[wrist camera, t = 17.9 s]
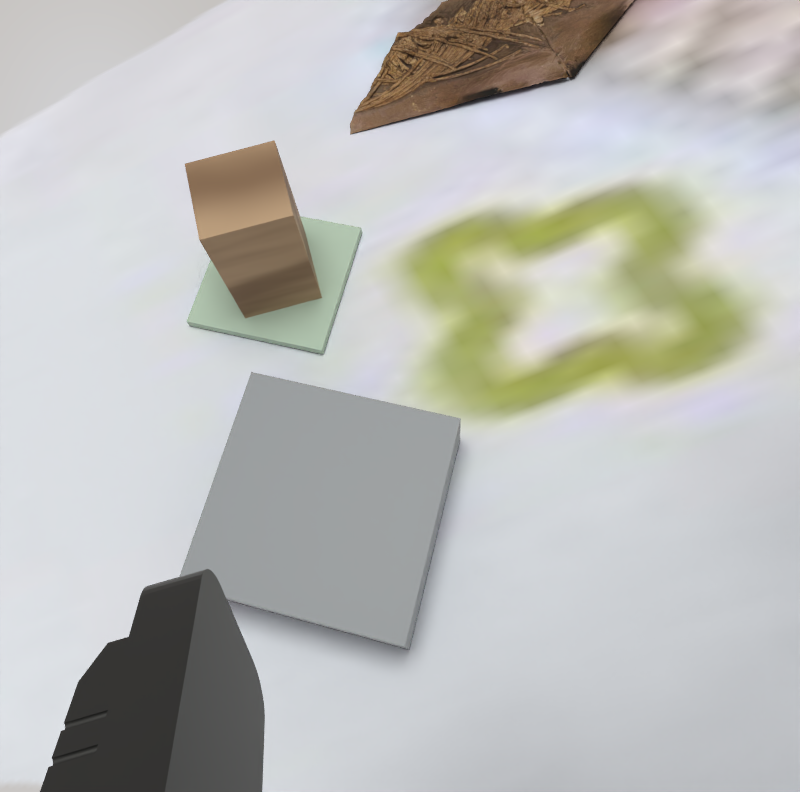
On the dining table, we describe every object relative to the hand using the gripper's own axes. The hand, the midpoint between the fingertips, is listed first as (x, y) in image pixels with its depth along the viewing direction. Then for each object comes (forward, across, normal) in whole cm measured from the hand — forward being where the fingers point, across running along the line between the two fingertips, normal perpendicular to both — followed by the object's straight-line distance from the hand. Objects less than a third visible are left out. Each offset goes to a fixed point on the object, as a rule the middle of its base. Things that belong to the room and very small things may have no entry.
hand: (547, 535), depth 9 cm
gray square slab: (+29, +6, +17) cm, 34 cm away
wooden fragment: (+51, -14, -4) cm, 53 cm away
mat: (+41, +6, +5) cm, 42 cm away
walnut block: (+40, +6, +5) cm, 41 cm away
